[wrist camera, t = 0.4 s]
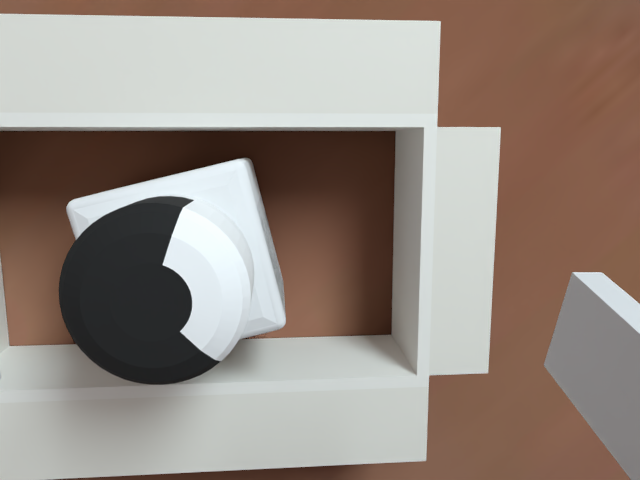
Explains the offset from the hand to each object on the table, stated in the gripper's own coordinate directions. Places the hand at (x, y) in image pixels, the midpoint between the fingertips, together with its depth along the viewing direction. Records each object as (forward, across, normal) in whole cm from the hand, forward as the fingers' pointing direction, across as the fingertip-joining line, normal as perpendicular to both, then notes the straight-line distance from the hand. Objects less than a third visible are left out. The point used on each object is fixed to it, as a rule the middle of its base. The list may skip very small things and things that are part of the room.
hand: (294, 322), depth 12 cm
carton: (+18, +4, +7) cm, 20 cm away
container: (+18, +4, +7) cm, 20 cm away
